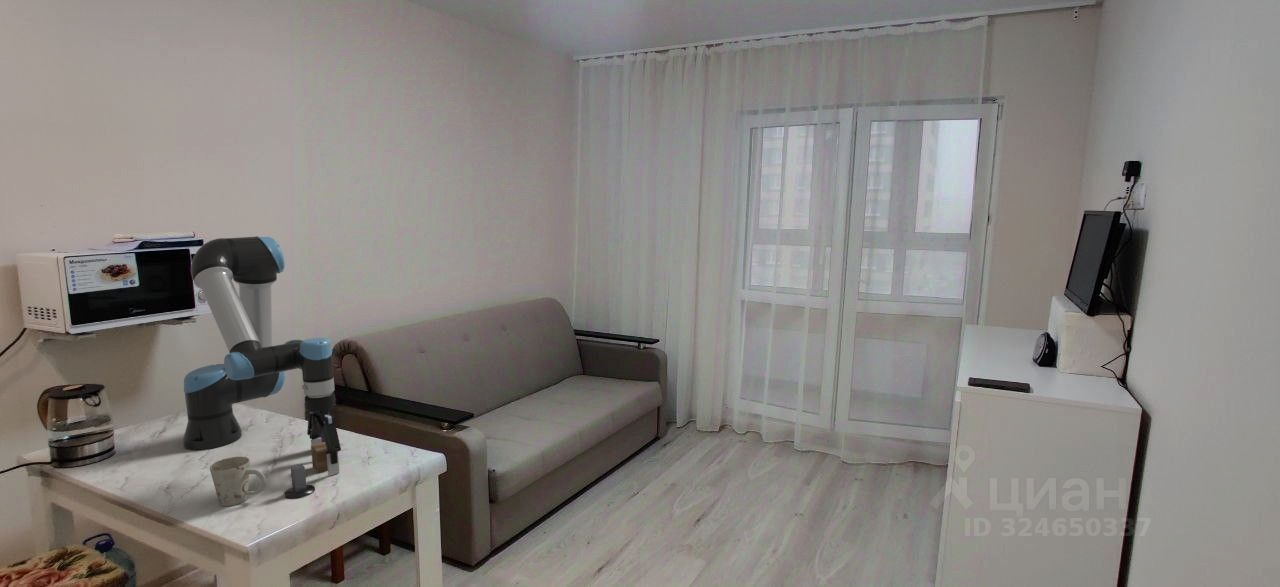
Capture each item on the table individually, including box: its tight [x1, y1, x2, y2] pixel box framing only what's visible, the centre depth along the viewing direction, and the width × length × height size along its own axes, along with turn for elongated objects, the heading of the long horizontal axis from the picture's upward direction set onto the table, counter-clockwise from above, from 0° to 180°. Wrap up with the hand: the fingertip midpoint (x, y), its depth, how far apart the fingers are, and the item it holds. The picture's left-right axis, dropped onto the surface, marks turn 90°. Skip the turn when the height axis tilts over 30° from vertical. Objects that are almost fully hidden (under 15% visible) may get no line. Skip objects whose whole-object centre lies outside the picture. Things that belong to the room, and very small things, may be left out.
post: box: [284, 463, 316, 499], centre depth 160 cm, size 7×7×7 cm
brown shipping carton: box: [310, 442, 335, 474], centre depth 175 cm, size 5×5×7 cm
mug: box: [209, 456, 267, 507], centre depth 156 cm, size 8×13×10 cm, turn 95°
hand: (325, 466), depth 175 cm, fingers open, 12 cm apart
